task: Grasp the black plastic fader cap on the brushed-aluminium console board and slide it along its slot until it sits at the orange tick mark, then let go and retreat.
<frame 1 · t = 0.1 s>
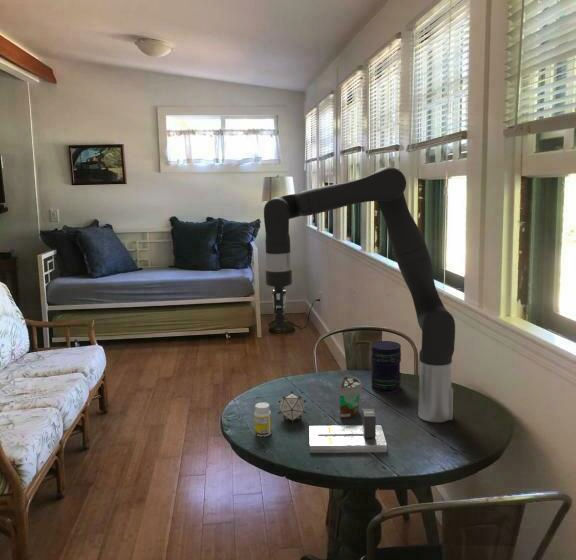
hand: (280, 323, 167), 29 cm above the table, fingers open, 8 cm apart
console board: (346, 442, 156), on the table
storage jar: (385, 388, 195), on the table
supplement bottle: (263, 433, 163), on the table
food container: (352, 414, 175), on the table
game die: (292, 420, 172), on the table
fader knob: (368, 422, 155), point 5 cm above the table, slide at 0.0 cm
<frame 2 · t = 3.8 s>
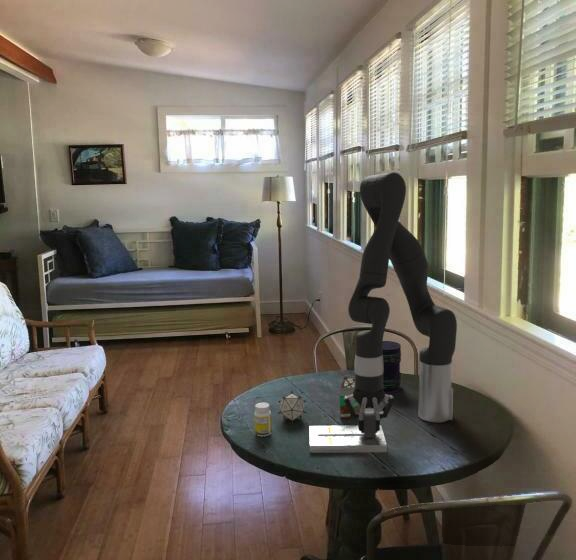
hand: (368, 431, 155), 3 cm above the table, fingers closed on fader knob, 3 cm apart
fader knob: (369, 422, 155), point 5 cm above the table, slide at 0.0 cm, touching gripper
everything else where it was.
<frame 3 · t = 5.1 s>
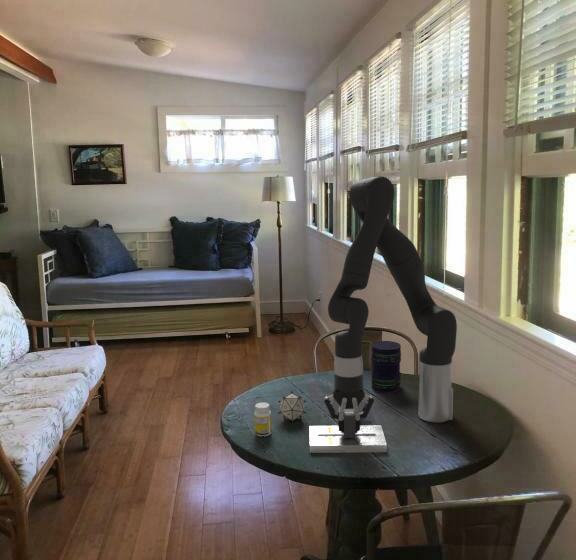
hand: (349, 431, 156), 3 cm above the table, fingers closed on fader knob, 3 cm apart
fader knob: (349, 423, 155), point 5 cm above the table, slide at 5.3 cm, touching gripper
everything else where it was.
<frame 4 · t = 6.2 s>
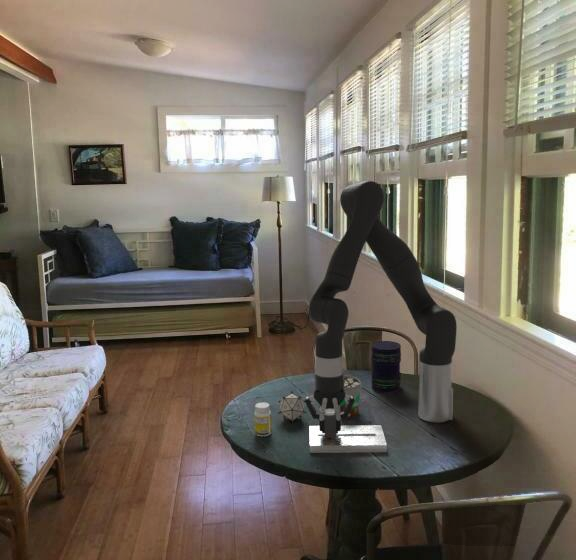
hand: (330, 431, 156), 3 cm above the table, fingers closed on fader knob, 3 cm apart
fader knob: (330, 423, 155), point 5 cm above the table, slide at 10.4 cm, touching gripper
everything else where it was.
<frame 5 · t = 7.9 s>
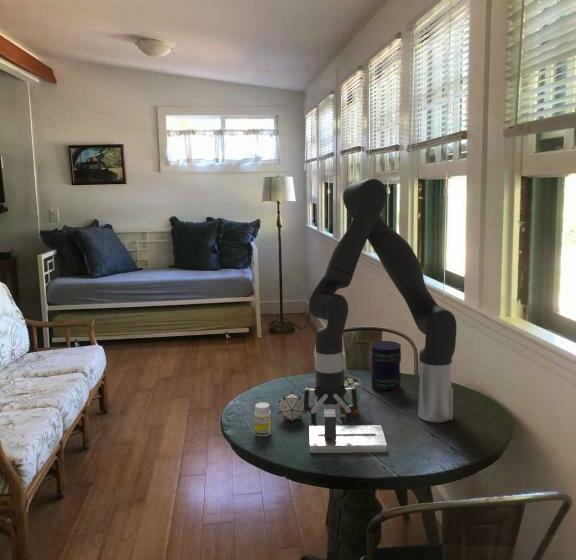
hand: (330, 424, 155), 5 cm above the table, fingers open, 8 cm apart
fader knob: (329, 423, 155), point 5 cm above the table, slide at 10.4 cm
everything else where it was.
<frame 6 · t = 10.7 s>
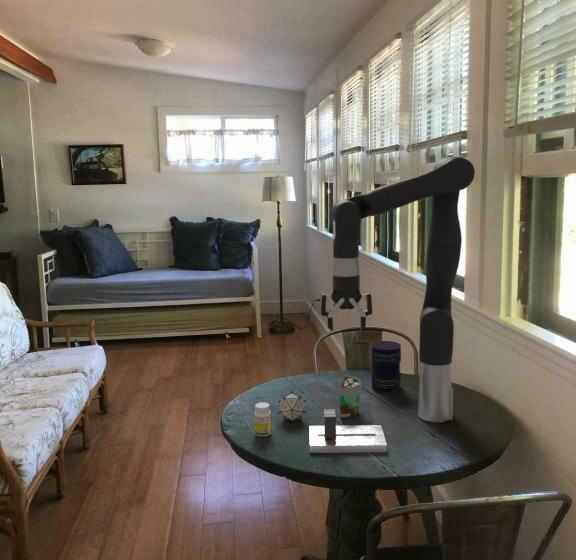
hand: (346, 329, 163), 28 cm above the table, fingers open, 8 cm apart
nothing on the table moved.
at the end: fader knob slide at 10.4 cm; the gripper is holding nothing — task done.
